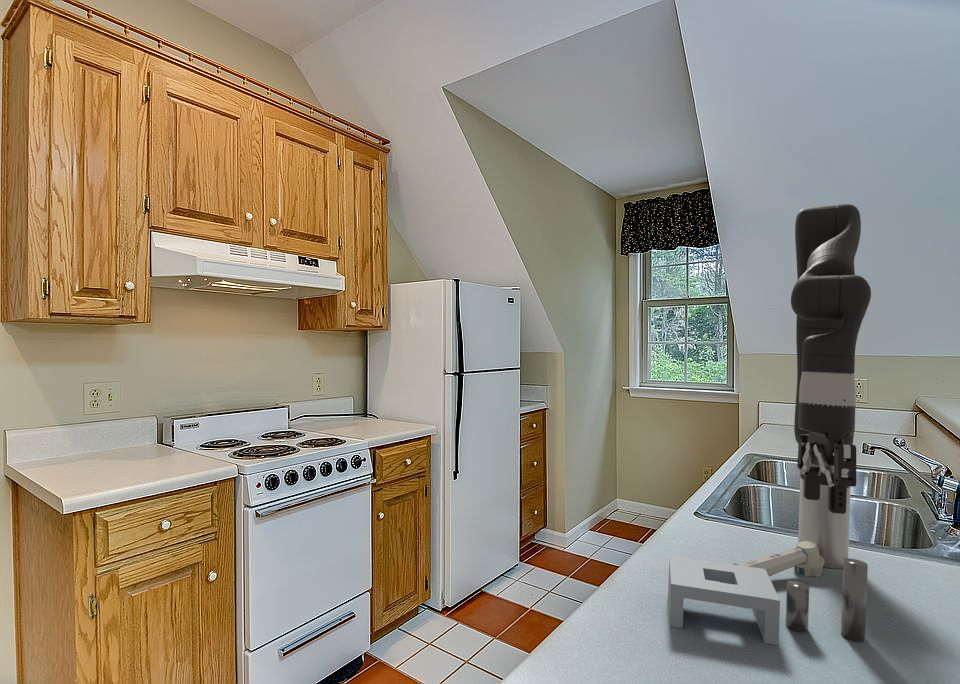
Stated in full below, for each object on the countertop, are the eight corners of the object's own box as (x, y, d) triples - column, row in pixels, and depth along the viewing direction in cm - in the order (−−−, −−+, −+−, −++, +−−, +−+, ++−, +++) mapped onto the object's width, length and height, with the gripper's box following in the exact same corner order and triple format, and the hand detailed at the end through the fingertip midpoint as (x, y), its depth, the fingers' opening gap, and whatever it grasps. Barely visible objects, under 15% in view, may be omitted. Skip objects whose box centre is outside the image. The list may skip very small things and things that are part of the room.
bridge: (668, 593, 101) (669, 555, 101) (764, 608, 96) (765, 569, 96) (669, 625, 90) (670, 583, 90) (778, 645, 85) (780, 600, 85)
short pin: (783, 620, 92) (785, 579, 92) (805, 624, 91) (806, 582, 91) (788, 630, 89) (789, 587, 89) (810, 634, 88) (811, 591, 88)
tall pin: (838, 629, 90) (840, 557, 90) (860, 633, 89) (863, 560, 89) (844, 639, 87) (847, 565, 87) (868, 643, 86) (870, 568, 86)
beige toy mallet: (714, 564, 106) (805, 531, 115) (717, 597, 106) (807, 562, 116) (736, 575, 101) (829, 540, 110) (739, 610, 102) (831, 572, 111)
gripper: (878, 406, 78) (875, 520, 78) (831, 400, 92) (828, 497, 92) (821, 403, 80) (817, 515, 79) (783, 397, 94) (780, 493, 93)
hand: (823, 505), depth 85 cm, fingers open, 8 cm apart
